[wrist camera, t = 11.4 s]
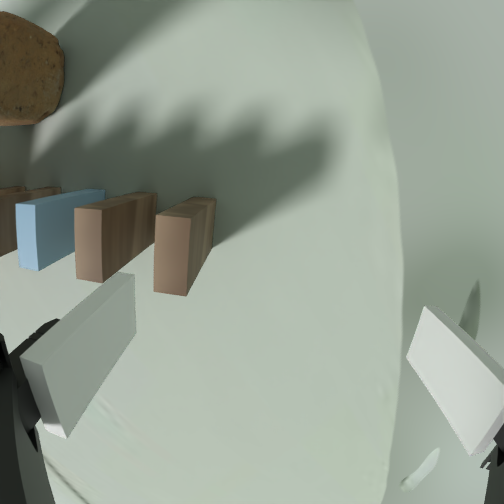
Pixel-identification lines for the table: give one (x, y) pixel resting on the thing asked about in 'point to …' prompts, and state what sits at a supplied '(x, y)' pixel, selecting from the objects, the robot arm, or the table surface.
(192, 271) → the domino
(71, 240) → the domino
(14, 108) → the bread loaf
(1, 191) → the domino
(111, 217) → the domino
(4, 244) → the domino
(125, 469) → the table surface
